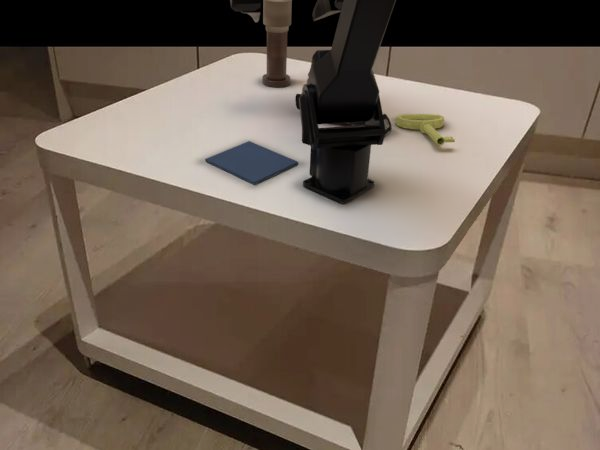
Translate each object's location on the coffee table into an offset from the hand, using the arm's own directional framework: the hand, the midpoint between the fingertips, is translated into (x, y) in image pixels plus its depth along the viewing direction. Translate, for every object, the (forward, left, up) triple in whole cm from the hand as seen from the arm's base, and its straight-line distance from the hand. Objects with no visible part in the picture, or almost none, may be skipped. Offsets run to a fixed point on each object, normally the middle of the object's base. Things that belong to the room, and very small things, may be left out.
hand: (285, 18), depth 96 cm
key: (-25, -3, -12) cm, 28 cm away
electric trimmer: (-14, +3, -12) cm, 19 cm away
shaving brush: (+5, -3, -12) cm, 14 cm away
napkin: (-14, +22, -12) cm, 29 cm away
